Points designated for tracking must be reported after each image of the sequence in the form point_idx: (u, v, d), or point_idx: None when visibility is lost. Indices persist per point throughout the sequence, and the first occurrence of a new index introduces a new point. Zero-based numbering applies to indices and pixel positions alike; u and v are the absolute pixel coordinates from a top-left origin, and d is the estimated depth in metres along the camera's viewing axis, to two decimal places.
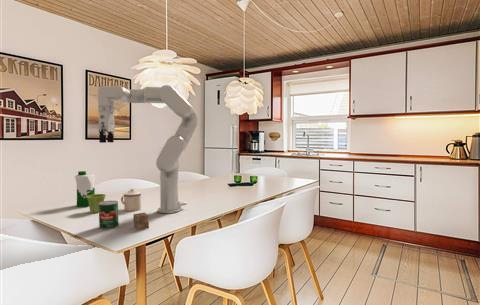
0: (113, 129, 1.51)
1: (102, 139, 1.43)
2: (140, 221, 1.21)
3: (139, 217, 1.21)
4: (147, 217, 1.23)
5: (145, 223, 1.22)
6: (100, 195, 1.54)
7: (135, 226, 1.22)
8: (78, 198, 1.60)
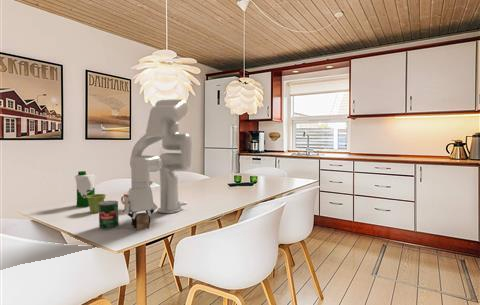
0: None
1: None
2: (140, 221, 1.21)
3: (139, 217, 1.21)
4: (147, 217, 1.23)
5: (145, 223, 1.22)
6: (100, 195, 1.54)
7: None
8: (78, 198, 1.60)
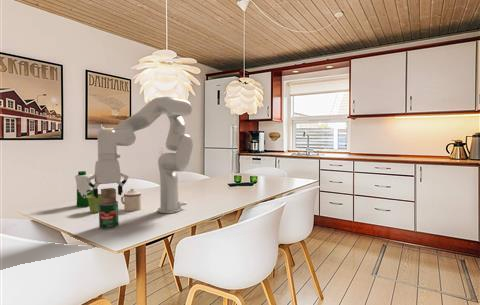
0: None
1: None
2: (107, 195, 1.21)
3: (106, 191, 1.21)
4: (114, 192, 1.23)
5: (112, 198, 1.23)
6: (100, 195, 1.54)
7: (102, 200, 1.23)
8: (78, 198, 1.60)
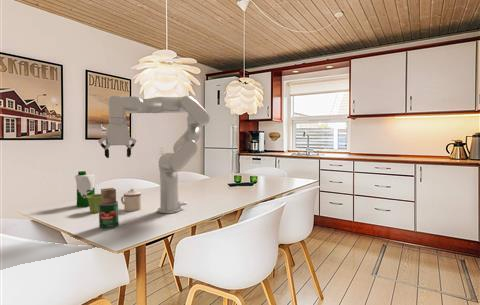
0: None
1: None
2: (107, 195, 1.21)
3: (106, 191, 1.21)
4: (114, 192, 1.23)
5: (112, 198, 1.23)
6: (100, 195, 1.54)
7: (102, 200, 1.23)
8: (78, 198, 1.60)
